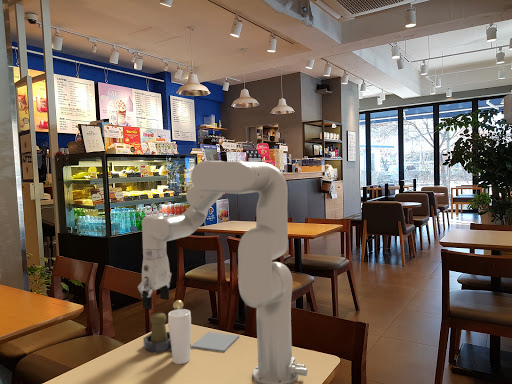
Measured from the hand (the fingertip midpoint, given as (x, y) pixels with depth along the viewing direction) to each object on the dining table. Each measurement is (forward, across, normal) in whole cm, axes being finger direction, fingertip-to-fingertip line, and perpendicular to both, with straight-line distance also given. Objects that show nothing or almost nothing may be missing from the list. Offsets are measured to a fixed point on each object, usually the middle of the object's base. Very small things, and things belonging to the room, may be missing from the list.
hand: (156, 303), depth 131 cm
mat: (+14, +8, -18) cm, 24 cm away
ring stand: (+14, 0, -4) cm, 15 cm away
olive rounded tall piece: (+14, 0, -1) cm, 15 cm away
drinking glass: (+14, -7, -14) cm, 21 cm away
